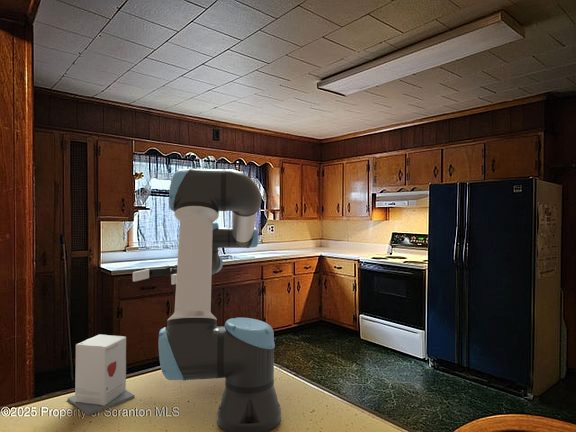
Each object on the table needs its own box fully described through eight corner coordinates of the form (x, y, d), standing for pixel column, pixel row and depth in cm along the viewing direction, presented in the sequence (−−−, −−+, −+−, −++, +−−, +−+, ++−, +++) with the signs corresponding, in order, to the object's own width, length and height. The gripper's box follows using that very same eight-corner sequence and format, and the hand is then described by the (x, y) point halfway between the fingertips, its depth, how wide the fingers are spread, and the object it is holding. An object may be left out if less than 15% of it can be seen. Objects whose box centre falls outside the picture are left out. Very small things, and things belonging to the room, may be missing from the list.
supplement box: (104, 406, 98) (104, 347, 98) (74, 402, 100) (74, 344, 100) (127, 390, 107) (127, 335, 107) (98, 387, 109) (98, 333, 109)
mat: (134, 397, 104) (134, 395, 104) (88, 415, 95) (88, 413, 95) (112, 384, 112) (112, 382, 112) (67, 400, 102) (67, 397, 102)
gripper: (225, 281, 130) (189, 294, 110) (162, 277, 139) (118, 288, 119) (225, 259, 130) (189, 267, 110) (162, 256, 139) (118, 263, 118)
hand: (152, 278), depth 114 cm, fingers open, 13 cm apart
